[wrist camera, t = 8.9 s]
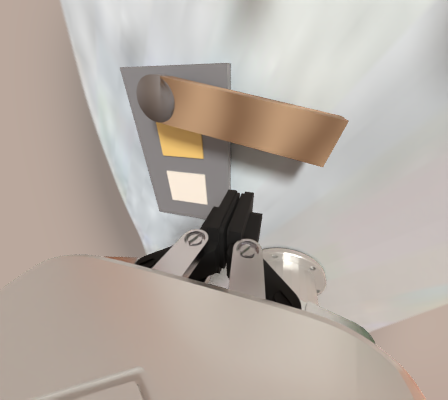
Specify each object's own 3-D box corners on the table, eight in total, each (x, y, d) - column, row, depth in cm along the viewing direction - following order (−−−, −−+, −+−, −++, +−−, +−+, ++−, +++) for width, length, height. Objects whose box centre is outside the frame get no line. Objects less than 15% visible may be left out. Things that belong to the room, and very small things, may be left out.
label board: (230, 217, 26) (226, 228, 24) (163, 206, 29) (155, 216, 27) (230, 63, 16) (223, 62, 14) (128, 67, 19) (110, 66, 17)
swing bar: (341, 116, 14) (348, 120, 13) (319, 158, 16) (322, 167, 15) (148, 70, 16) (133, 69, 14) (151, 113, 18) (138, 117, 17)
